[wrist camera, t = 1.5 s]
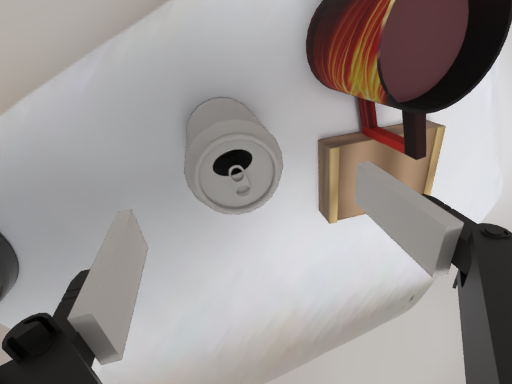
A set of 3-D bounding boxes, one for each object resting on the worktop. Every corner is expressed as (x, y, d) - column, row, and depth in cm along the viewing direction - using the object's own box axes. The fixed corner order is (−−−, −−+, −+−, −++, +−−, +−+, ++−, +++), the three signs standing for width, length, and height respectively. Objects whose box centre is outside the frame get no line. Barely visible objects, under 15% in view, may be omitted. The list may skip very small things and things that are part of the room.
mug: (359, 133, 33) (436, 173, 23) (286, 41, 26) (347, 37, 16) (424, 71, 31) (542, 83, 21) (363, -45, 24) (488, -113, 14)
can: (243, 85, 28) (275, 108, 17) (263, 151, 31) (299, 202, 21) (174, 110, 27) (163, 149, 17) (202, 173, 31) (208, 237, 21)
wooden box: (319, 210, 37) (329, 223, 34) (318, 140, 32) (330, 149, 29) (411, 189, 39) (429, 200, 36) (424, 119, 34) (445, 126, 31)
